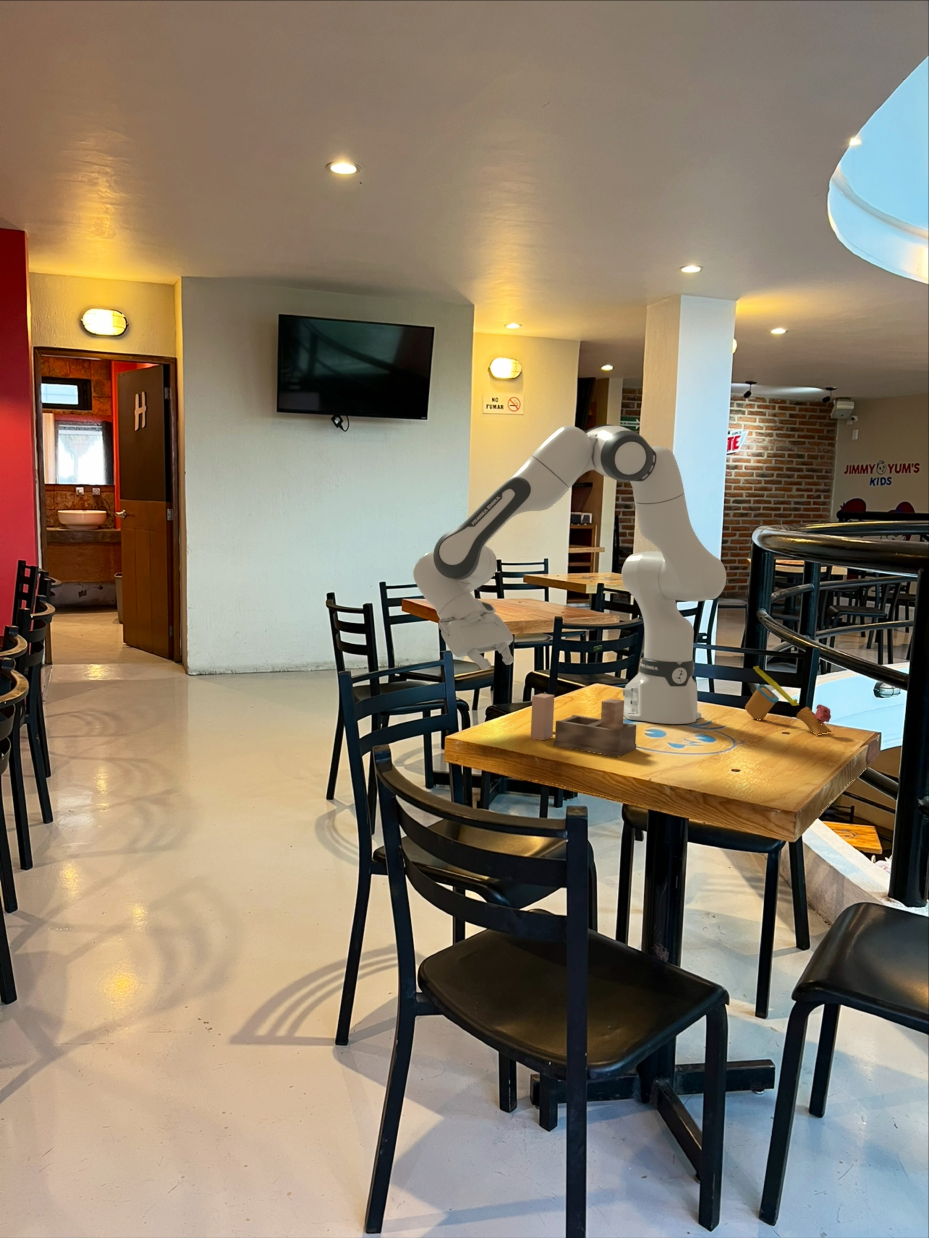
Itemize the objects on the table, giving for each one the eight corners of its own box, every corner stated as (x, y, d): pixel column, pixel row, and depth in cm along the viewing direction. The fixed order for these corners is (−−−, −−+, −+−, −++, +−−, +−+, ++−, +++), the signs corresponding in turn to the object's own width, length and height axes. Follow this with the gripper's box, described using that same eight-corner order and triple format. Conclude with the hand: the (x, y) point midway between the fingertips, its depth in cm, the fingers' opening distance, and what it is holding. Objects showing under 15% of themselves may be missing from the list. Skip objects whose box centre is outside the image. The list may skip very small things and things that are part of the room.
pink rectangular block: (530, 738, 189) (532, 696, 188) (540, 735, 192) (541, 693, 192) (543, 740, 188) (544, 697, 187) (552, 737, 191) (554, 695, 190)
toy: (741, 697, 222) (772, 650, 213) (808, 763, 208) (843, 715, 200) (727, 699, 218) (757, 652, 210) (793, 767, 205) (828, 719, 196)
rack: (553, 745, 183) (555, 697, 182) (574, 737, 191) (576, 691, 190) (617, 757, 176) (619, 706, 175) (636, 748, 183) (638, 699, 182)
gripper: (443, 610, 189) (481, 661, 185) (496, 604, 206) (532, 651, 202) (426, 629, 192) (462, 680, 188) (479, 622, 209) (514, 668, 205)
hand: (499, 665), depth 195 cm, fingers open, 8 cm apart
